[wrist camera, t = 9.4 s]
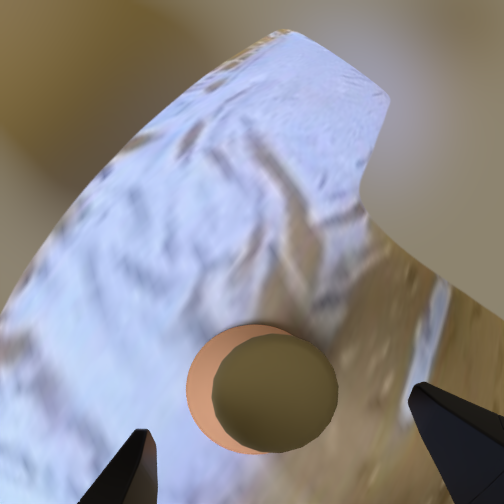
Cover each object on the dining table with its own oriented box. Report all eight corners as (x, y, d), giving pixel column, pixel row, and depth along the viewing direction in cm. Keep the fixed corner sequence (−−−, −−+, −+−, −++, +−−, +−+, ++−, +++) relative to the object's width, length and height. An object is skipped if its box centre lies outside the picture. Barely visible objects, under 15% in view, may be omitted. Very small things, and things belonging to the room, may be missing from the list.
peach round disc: (337, 353, 22) (340, 352, 21) (290, 468, 17) (292, 471, 17) (220, 306, 23) (220, 303, 22) (166, 419, 18) (164, 420, 18)
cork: (294, 350, 21) (349, 308, 11) (301, 427, 18) (365, 454, 8) (212, 354, 20) (194, 317, 11) (216, 434, 18) (202, 475, 8)
